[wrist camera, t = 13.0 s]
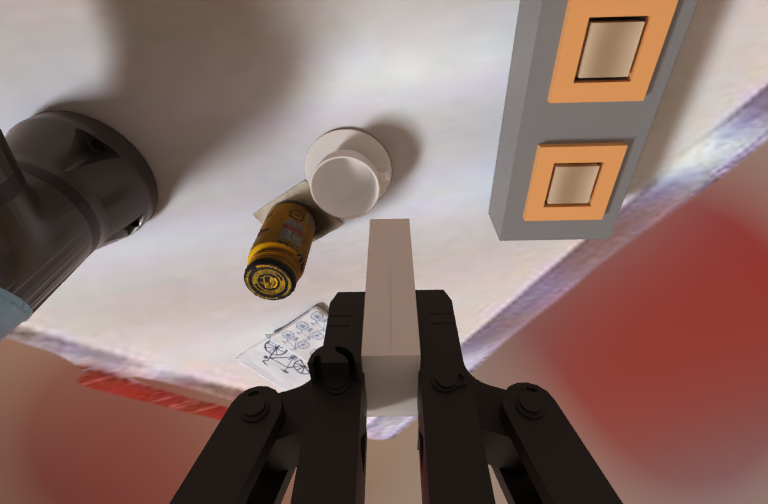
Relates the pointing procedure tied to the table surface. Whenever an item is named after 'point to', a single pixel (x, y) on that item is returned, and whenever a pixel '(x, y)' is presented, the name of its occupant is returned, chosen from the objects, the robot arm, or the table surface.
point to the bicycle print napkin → (288, 351)
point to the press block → (577, 114)
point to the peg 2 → (609, 47)
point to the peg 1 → (571, 182)
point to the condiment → (285, 242)
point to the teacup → (347, 172)
